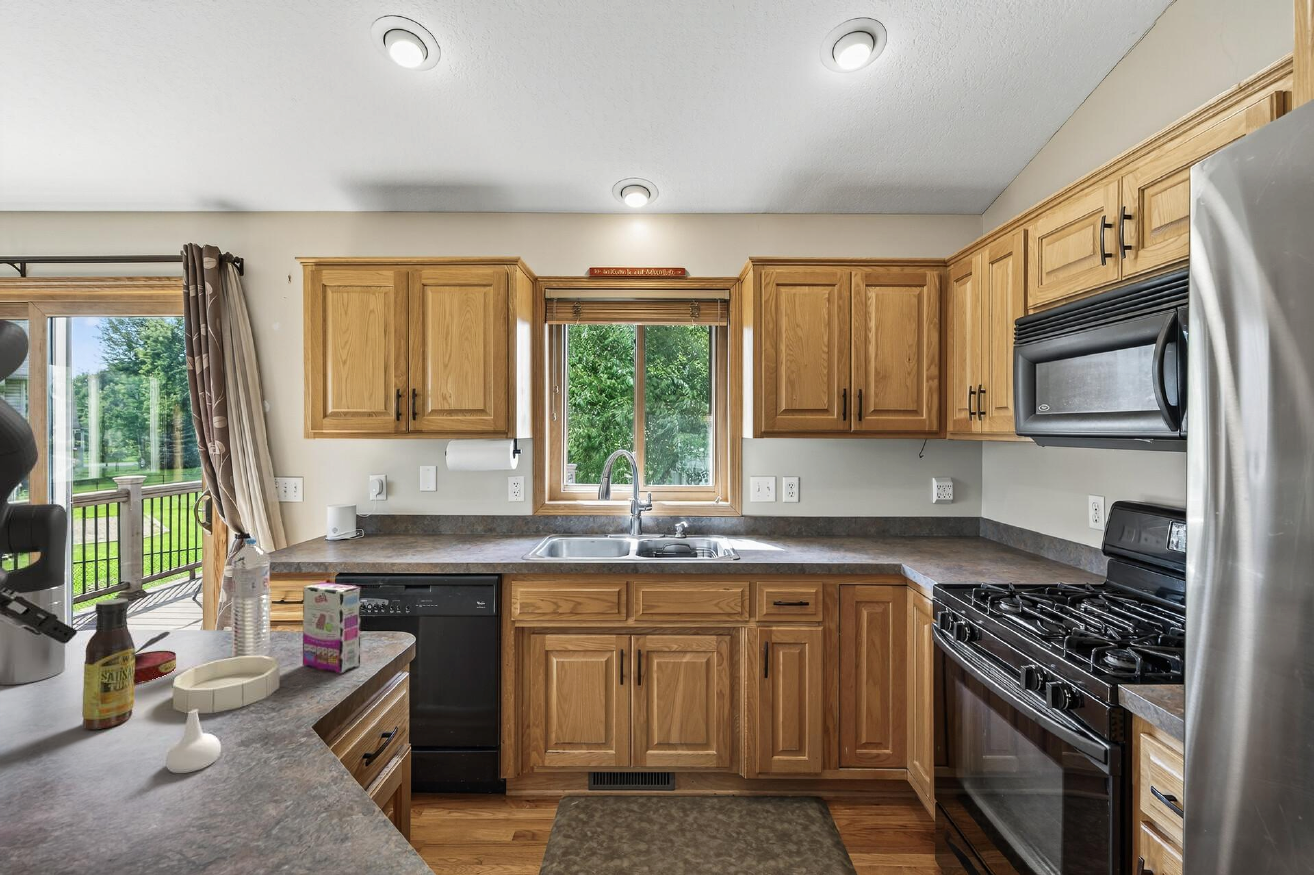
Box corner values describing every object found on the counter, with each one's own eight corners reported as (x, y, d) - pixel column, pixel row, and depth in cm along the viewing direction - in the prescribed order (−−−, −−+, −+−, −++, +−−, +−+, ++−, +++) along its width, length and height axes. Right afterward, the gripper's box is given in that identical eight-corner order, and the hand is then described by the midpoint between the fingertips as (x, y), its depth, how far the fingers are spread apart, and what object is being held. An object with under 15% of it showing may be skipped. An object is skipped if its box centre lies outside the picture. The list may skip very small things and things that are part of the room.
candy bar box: (362, 666, 124) (362, 586, 124) (341, 675, 119) (341, 592, 119) (322, 657, 128) (323, 580, 128) (301, 666, 124) (301, 586, 123)
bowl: (154, 702, 107) (154, 679, 107) (246, 670, 121) (246, 650, 121) (206, 720, 100) (206, 696, 100) (297, 685, 114) (297, 664, 114)
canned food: (135, 709, 114) (105, 672, 110) (115, 690, 119) (85, 654, 115) (198, 664, 122) (173, 628, 118) (177, 649, 128) (152, 614, 123)
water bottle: (255, 662, 125) (256, 542, 125) (223, 662, 125) (223, 541, 125) (277, 650, 132) (277, 536, 132) (246, 650, 132) (246, 536, 132)
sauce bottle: (102, 733, 96) (102, 608, 95) (71, 729, 97) (71, 606, 97) (145, 714, 102) (145, 597, 102) (115, 711, 103) (115, 595, 103)
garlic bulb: (206, 752, 92) (203, 698, 92) (230, 758, 89) (227, 703, 89) (157, 773, 86) (154, 716, 86) (181, 780, 83) (178, 721, 84)
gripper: (-3, 557, 82) (102, 618, 93) (-46, 548, 88) (58, 605, 99) (-62, 606, 78) (57, 664, 88) (-103, 592, 84) (13, 648, 94)
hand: (57, 633), depth 93 cm, fingers open, 8 cm apart
